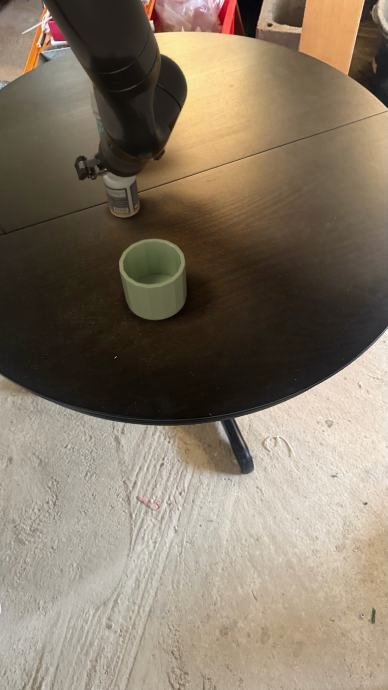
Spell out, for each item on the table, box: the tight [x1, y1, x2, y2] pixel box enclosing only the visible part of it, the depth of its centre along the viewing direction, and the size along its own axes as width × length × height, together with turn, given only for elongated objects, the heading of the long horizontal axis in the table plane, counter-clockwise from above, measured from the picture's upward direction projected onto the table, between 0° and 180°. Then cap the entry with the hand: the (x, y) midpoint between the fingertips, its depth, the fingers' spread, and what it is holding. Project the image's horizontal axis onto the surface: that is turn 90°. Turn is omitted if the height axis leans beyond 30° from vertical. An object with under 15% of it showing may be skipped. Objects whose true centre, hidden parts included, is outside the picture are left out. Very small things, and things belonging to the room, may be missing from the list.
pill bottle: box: [102, 169, 141, 219], centre depth 85 cm, size 6×6×10 cm
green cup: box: [118, 238, 188, 321], centre depth 74 cm, size 10×10×8 cm
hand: (115, 167), depth 83 cm, fingers open, 8 cm apart
